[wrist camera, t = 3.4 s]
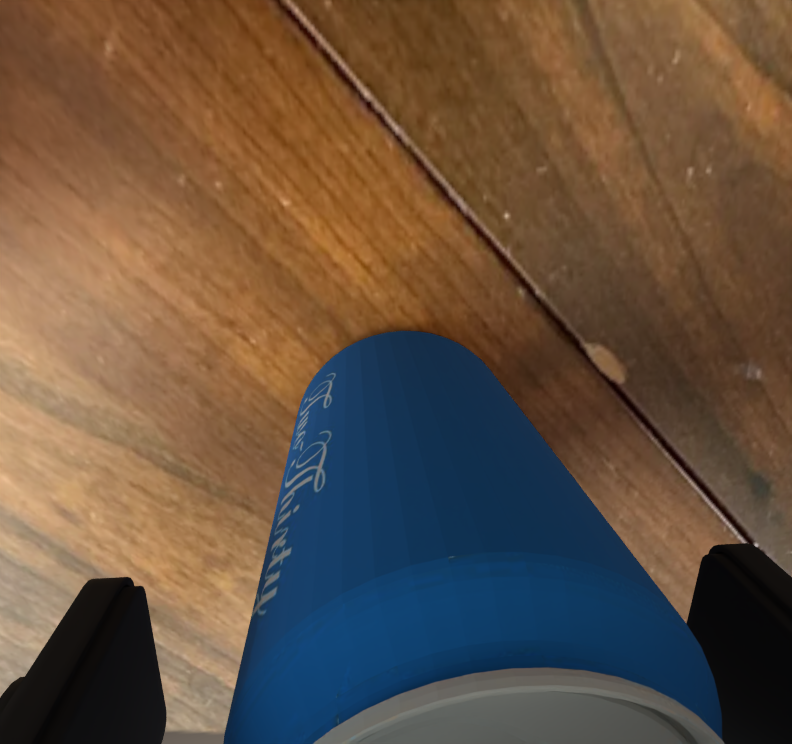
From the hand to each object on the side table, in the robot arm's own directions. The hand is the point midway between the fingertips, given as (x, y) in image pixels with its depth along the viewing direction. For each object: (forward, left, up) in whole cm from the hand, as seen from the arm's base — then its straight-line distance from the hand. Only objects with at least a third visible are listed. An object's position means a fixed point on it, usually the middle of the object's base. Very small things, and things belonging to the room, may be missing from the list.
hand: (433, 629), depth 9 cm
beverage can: (0, 0, -9) cm, 9 cm away
